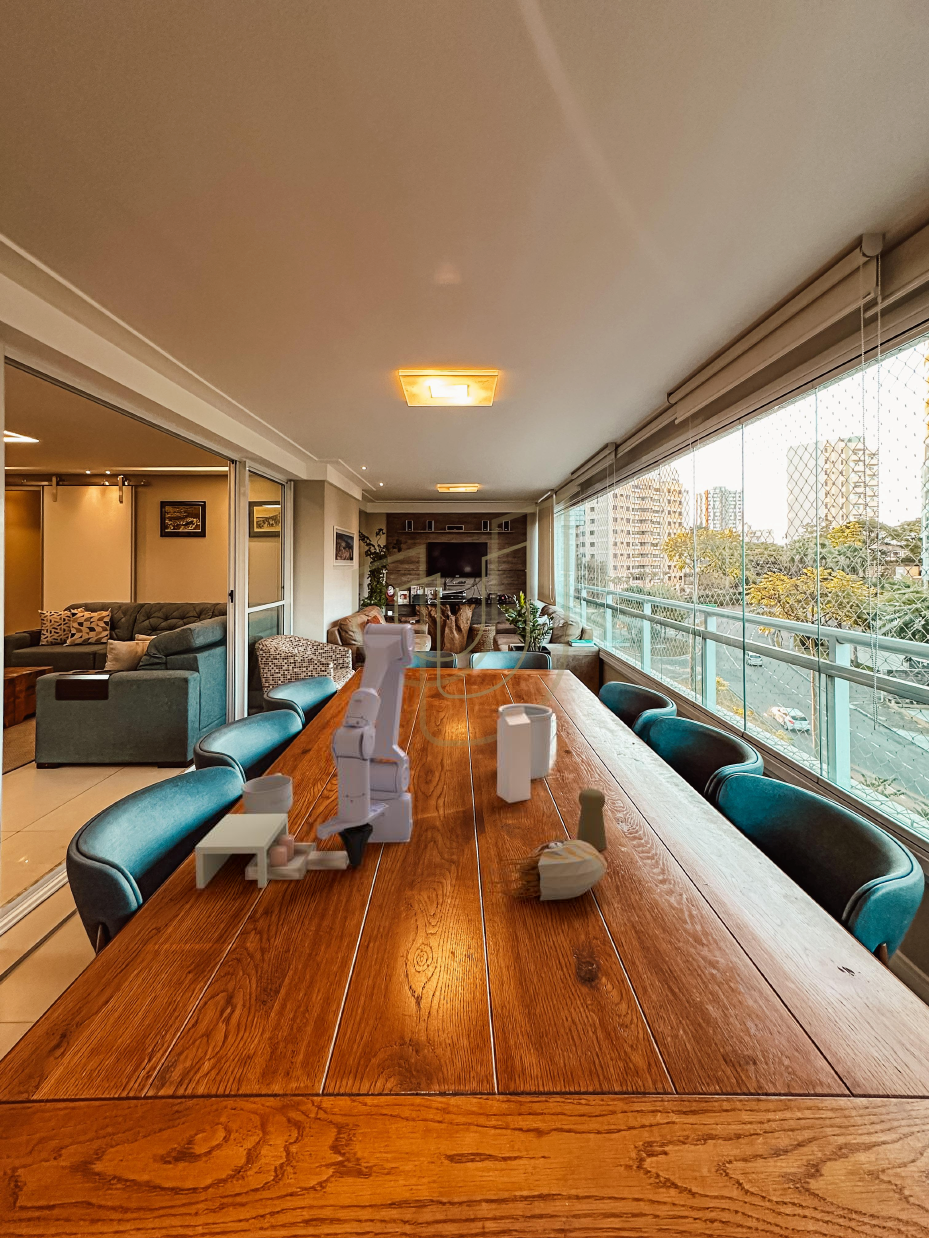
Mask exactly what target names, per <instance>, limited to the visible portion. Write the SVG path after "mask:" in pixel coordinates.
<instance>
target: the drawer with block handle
mask: <svg viewBox="0 0 929 1238" xmlns="http://www.w3.org/2000/svg"><path fill="white" fill-rule="evenodd" d="M275 846H277V843H271V844H270V846H269V847H268V849H267V850H266V859H267V880H303V879H304V876H305V875H306V873H307V871H308V870H347V867H348V865H349V864H350V863H349V859H348V855H347V851H346V850H330V851H329V850H321V851H320V850H317V842H294V859H293V860H291V861H289V862H287V867H270V854H269V850H270V849H271V848H273V847H275ZM244 872H245V874H244V876H245V877H244V878H245V880H249V881H250V880H258V860H257V853H255V855H254V856H253V857H252V859H251V860H250V862H249V863H248V864H247V866H246V867H245V868H244Z"/></svg>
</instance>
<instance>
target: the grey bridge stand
mask: <svg viewBox="0 0 929 1238" xmlns="http://www.w3.org/2000/svg"><path fill="white" fill-rule="evenodd" d="M288 815H289V813H286V814H246V813H236V814H235V813H227V814H226V815H224V817H223V818H221V820H220V821H218V823H217V824H216V825H215V826H214V827H213V828H212V829H211V830H210V831H209V832H208V833H207V834H206V835H205V836H204V837H203V838H202V839H201V840H200V842H198V844H196V846H195V847H194V850H195V855H194V856H195V877H196V878H195V879H196V881H195V882H196V883H195V884H196V885H195V887H196V889H205V887H206V886H207V885H208V884H209V882H211V880H212V879H213V877H214V876H215V875H216V874H217V873H218V871H219V870H220V869H221V868H222V867H223V865H224V864H225V863H226V862H227V860H228V859H229V857H231V856H232V854H256V853H257V860H258V879H257V888H258V889H259V888H261V889H264V888H266V887H267V885H268V879H267V859H266V850H267V849H268V847H269V846H270V844H271V843H277V838H278V837H279V836H281V835H286V834H289V822H288V821H289V818H288Z"/></svg>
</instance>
